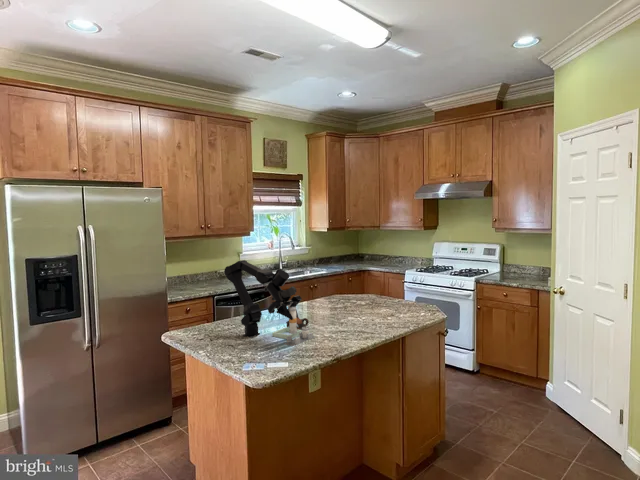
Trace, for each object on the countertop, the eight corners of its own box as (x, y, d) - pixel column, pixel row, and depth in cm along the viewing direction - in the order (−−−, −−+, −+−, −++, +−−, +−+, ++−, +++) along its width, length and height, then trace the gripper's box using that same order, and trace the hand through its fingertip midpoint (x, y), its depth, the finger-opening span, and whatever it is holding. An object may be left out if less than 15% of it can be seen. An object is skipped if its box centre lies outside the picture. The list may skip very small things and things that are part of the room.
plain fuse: (300, 338, 202) (300, 328, 202) (305, 336, 205) (304, 326, 205) (306, 339, 200) (306, 329, 200) (310, 337, 203) (310, 327, 202)
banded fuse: (287, 333, 194) (286, 307, 194) (292, 331, 197) (291, 306, 197) (293, 334, 192) (293, 308, 192) (298, 332, 195) (297, 307, 195)
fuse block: (283, 345, 194) (282, 338, 194) (306, 336, 207) (306, 329, 207) (292, 348, 190) (292, 340, 190) (315, 338, 204) (315, 331, 203)
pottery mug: (292, 335, 212) (286, 320, 215) (289, 338, 221) (283, 324, 223) (313, 326, 217) (306, 311, 219) (309, 330, 225) (302, 316, 228)
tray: (272, 338, 207) (272, 332, 207) (285, 332, 216) (285, 327, 215) (289, 341, 201) (289, 335, 201) (302, 335, 210) (302, 330, 209)
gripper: (271, 284, 189) (289, 311, 182) (298, 279, 203) (316, 303, 197) (259, 300, 194) (277, 326, 188) (287, 293, 209) (304, 317, 202)
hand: (294, 318), depth 194 cm, fingers closed on banded fuse, 3 cm apart
